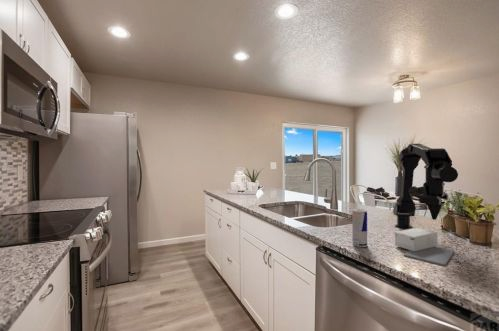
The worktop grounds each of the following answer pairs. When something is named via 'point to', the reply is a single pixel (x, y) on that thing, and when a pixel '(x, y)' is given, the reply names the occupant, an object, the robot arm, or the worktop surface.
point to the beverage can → (359, 227)
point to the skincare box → (416, 239)
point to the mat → (431, 255)
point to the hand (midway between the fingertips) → (434, 219)
